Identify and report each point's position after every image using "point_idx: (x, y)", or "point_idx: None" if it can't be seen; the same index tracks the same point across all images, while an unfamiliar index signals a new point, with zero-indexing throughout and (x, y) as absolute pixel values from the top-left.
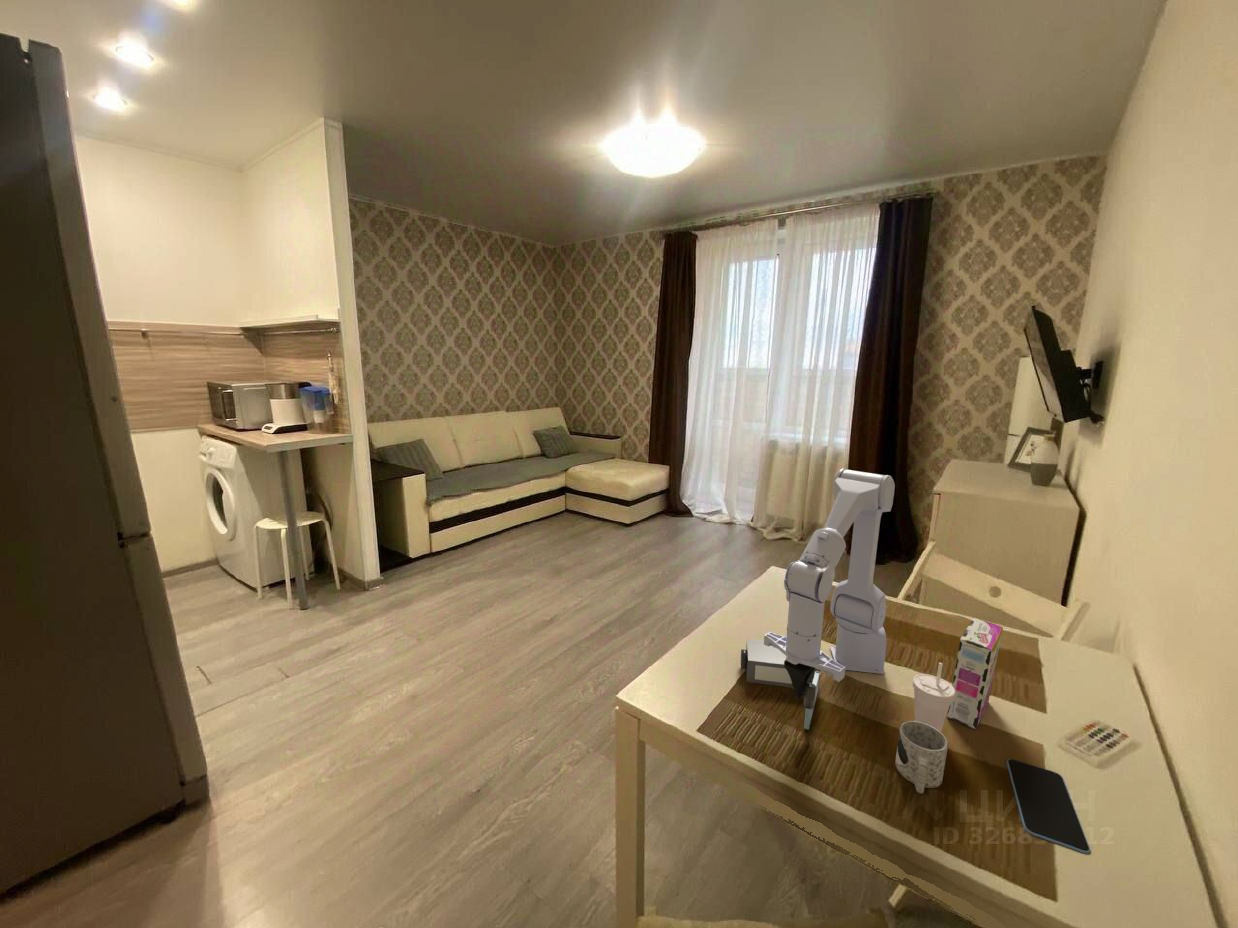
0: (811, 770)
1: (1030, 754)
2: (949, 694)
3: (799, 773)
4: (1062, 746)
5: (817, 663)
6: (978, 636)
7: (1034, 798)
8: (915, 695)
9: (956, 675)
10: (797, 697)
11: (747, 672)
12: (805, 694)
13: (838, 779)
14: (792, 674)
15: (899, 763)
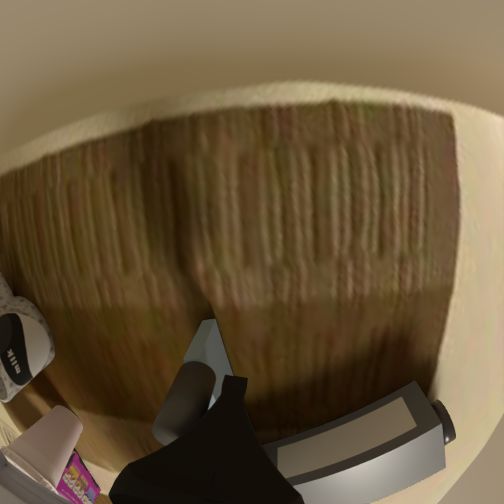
0: (137, 181)
1: (12, 414)
2: None
3: (157, 147)
4: (14, 432)
5: None
6: None
7: None
8: (45, 462)
9: None
10: (226, 376)
11: (425, 397)
12: (194, 398)
13: (86, 203)
14: (235, 460)
15: (28, 317)
